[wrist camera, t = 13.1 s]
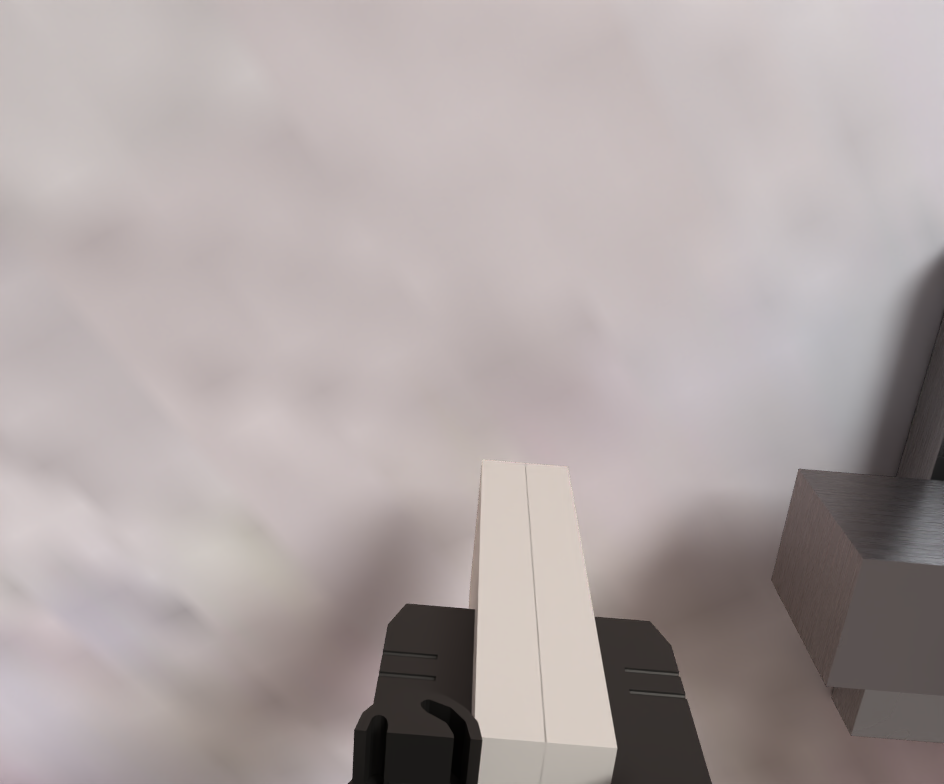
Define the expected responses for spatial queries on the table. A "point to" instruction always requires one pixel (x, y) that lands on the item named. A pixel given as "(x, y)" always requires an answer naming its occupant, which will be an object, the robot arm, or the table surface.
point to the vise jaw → (867, 579)
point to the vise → (925, 457)
